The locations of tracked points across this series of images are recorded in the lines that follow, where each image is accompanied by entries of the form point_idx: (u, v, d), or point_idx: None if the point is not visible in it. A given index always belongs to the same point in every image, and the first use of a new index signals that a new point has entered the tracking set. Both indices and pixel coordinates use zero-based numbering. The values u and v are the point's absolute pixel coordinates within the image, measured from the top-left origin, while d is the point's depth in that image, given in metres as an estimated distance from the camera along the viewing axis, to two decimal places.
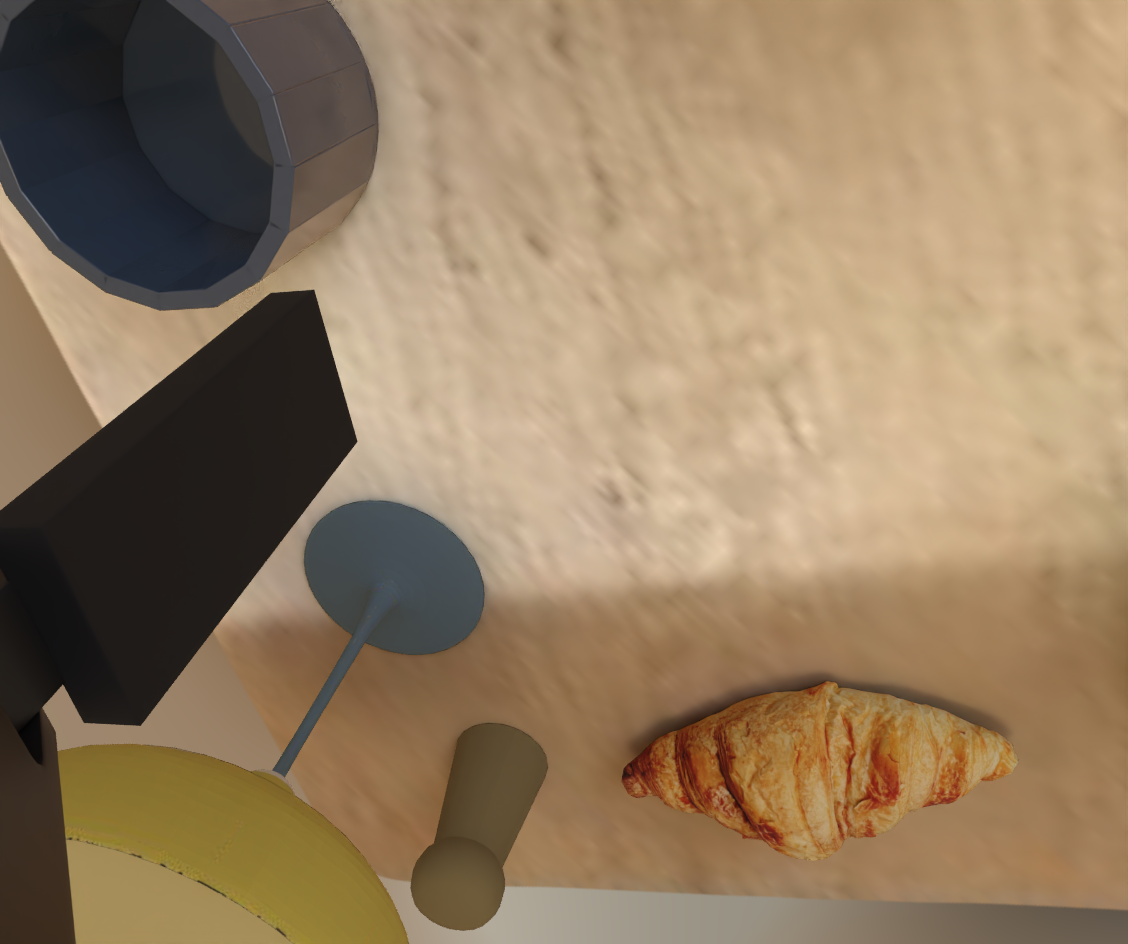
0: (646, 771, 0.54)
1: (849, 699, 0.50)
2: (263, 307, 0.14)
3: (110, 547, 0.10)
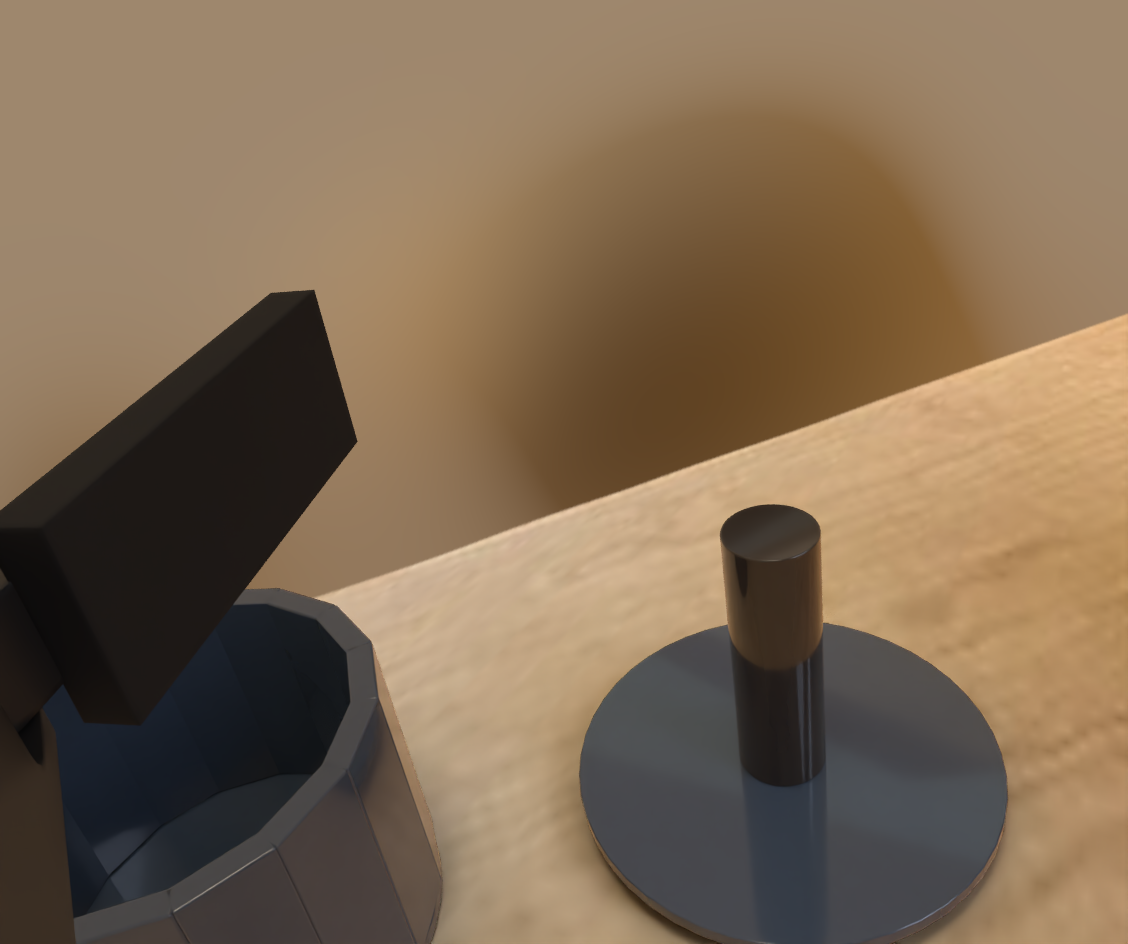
0: None
1: None
2: (263, 307, 0.14)
3: (110, 547, 0.10)
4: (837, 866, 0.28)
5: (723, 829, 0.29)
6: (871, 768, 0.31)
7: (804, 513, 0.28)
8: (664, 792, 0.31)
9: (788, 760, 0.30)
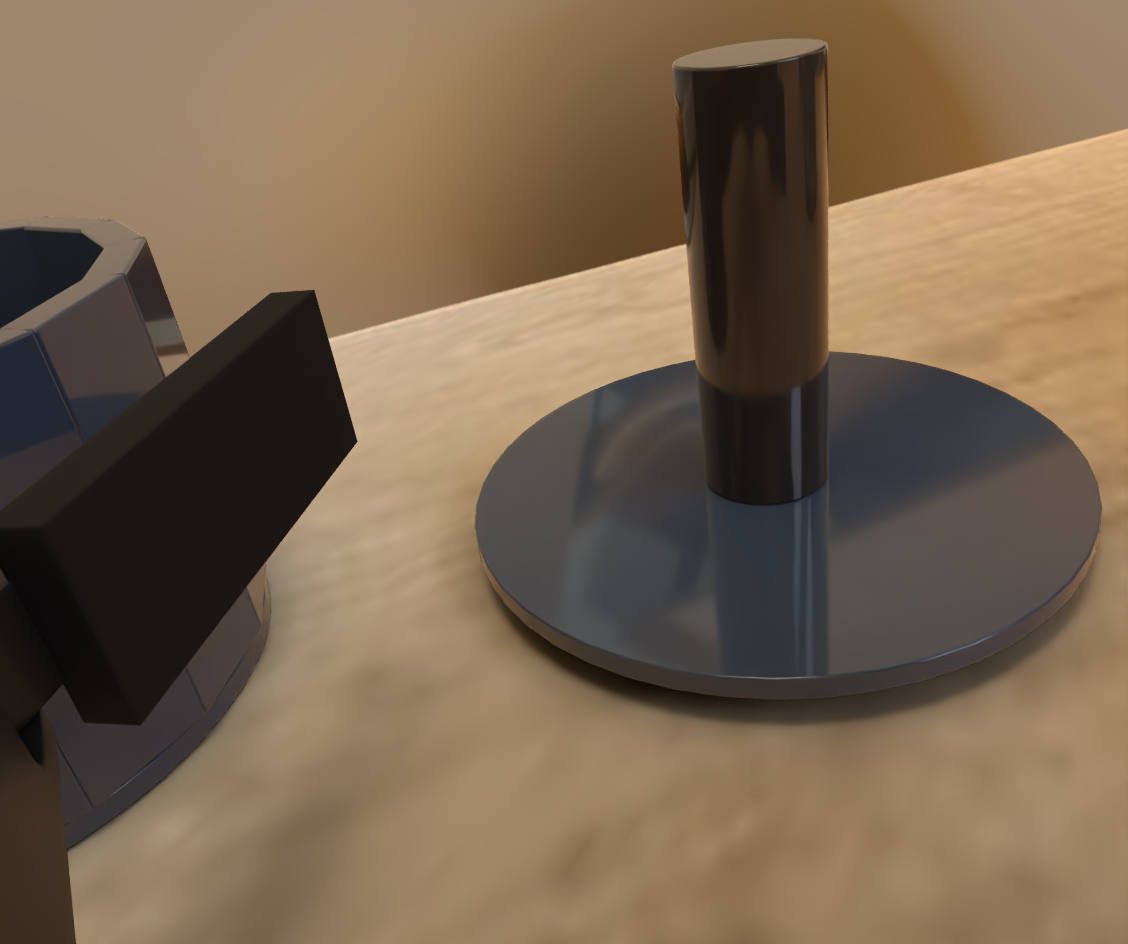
0: None
1: None
2: (263, 307, 0.14)
3: (110, 546, 0.10)
4: (843, 585, 0.18)
5: (674, 551, 0.20)
6: (895, 482, 0.21)
7: (803, 39, 0.18)
8: (593, 517, 0.21)
9: (773, 457, 0.20)
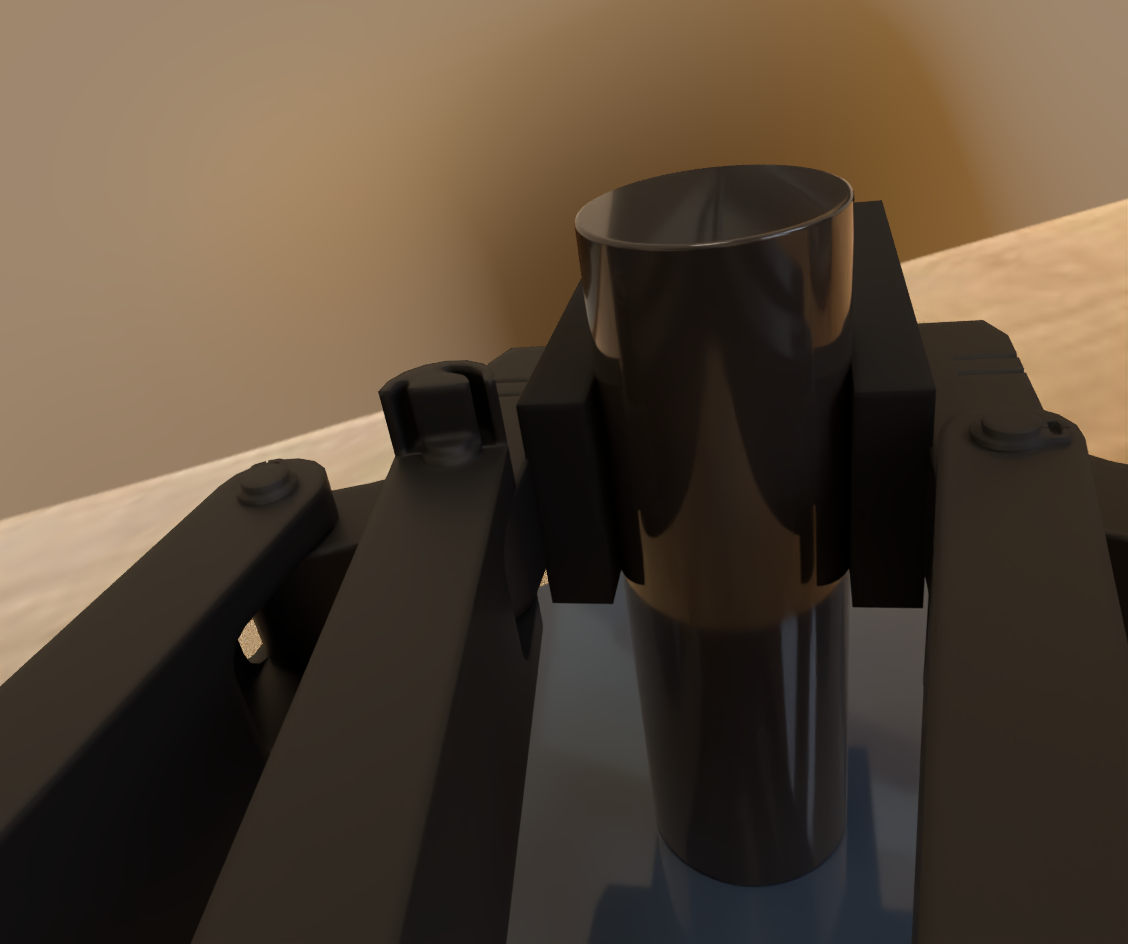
0: None
1: None
2: None
3: None
4: None
5: None
6: None
7: (809, 169, 0.10)
8: None
9: (759, 827, 0.12)
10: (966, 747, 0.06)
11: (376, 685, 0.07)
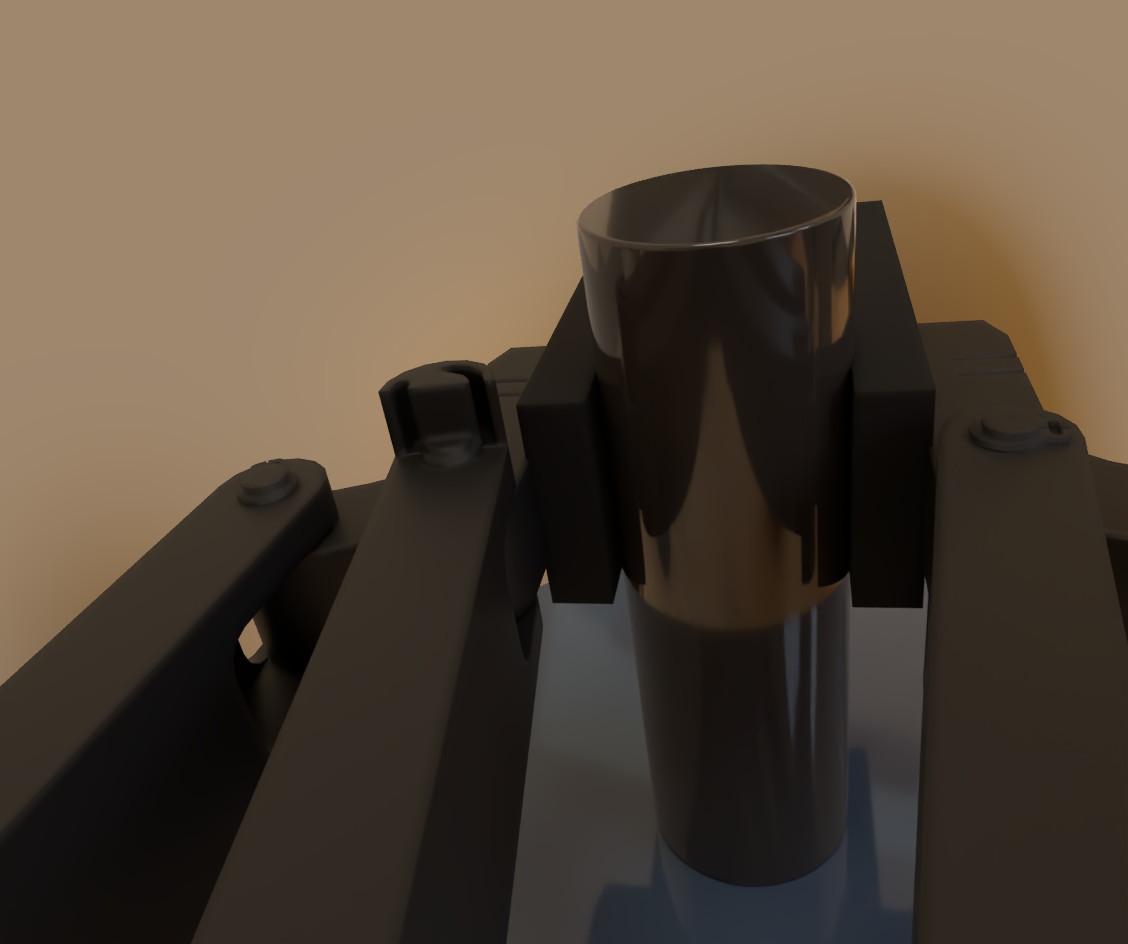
0: None
1: None
2: None
3: (603, 431, 0.11)
4: None
5: None
6: None
7: (811, 169, 0.10)
8: None
9: (759, 827, 0.12)
10: (966, 747, 0.06)
11: (376, 685, 0.07)
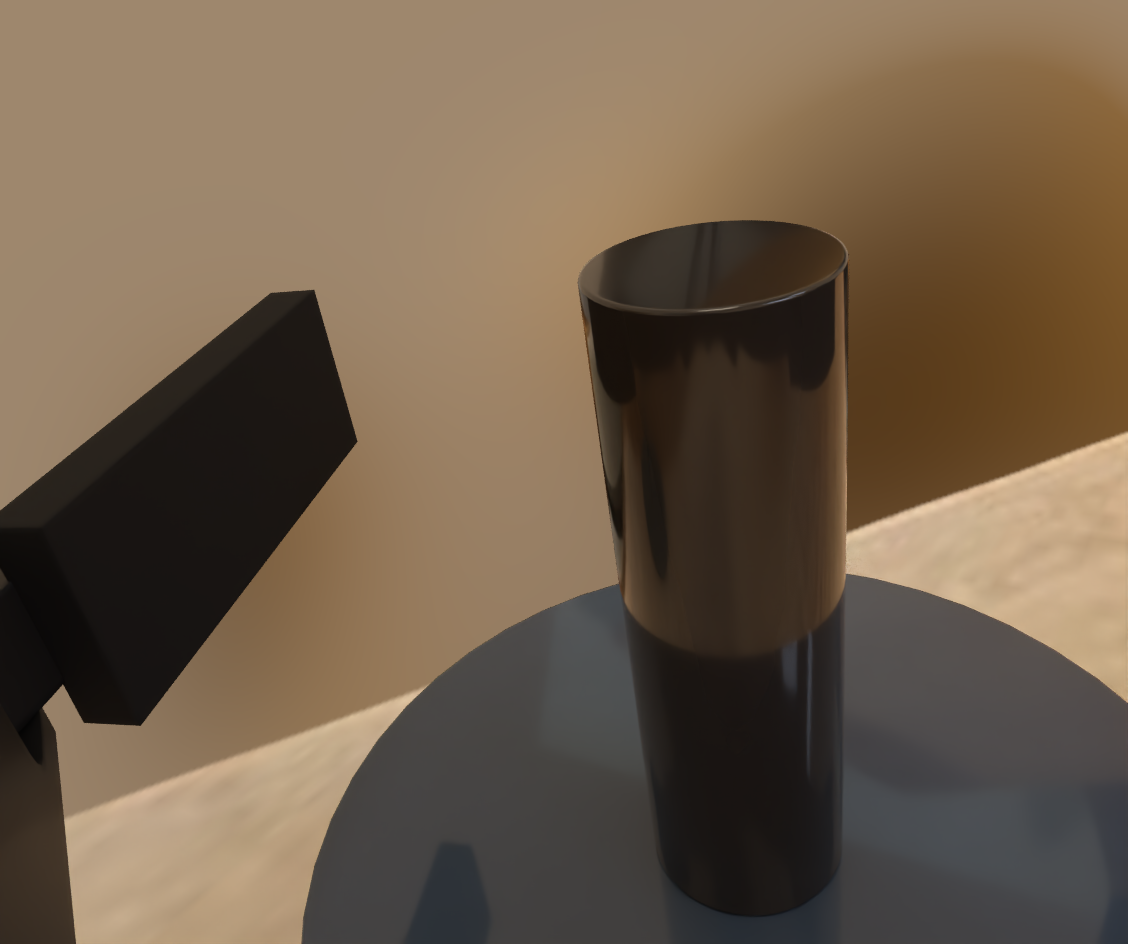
0: None
1: None
2: (263, 307, 0.14)
3: (111, 547, 0.10)
4: None
5: None
6: (947, 877, 0.13)
7: (805, 227, 0.10)
8: (480, 918, 0.14)
9: (756, 860, 0.13)
10: None
11: None
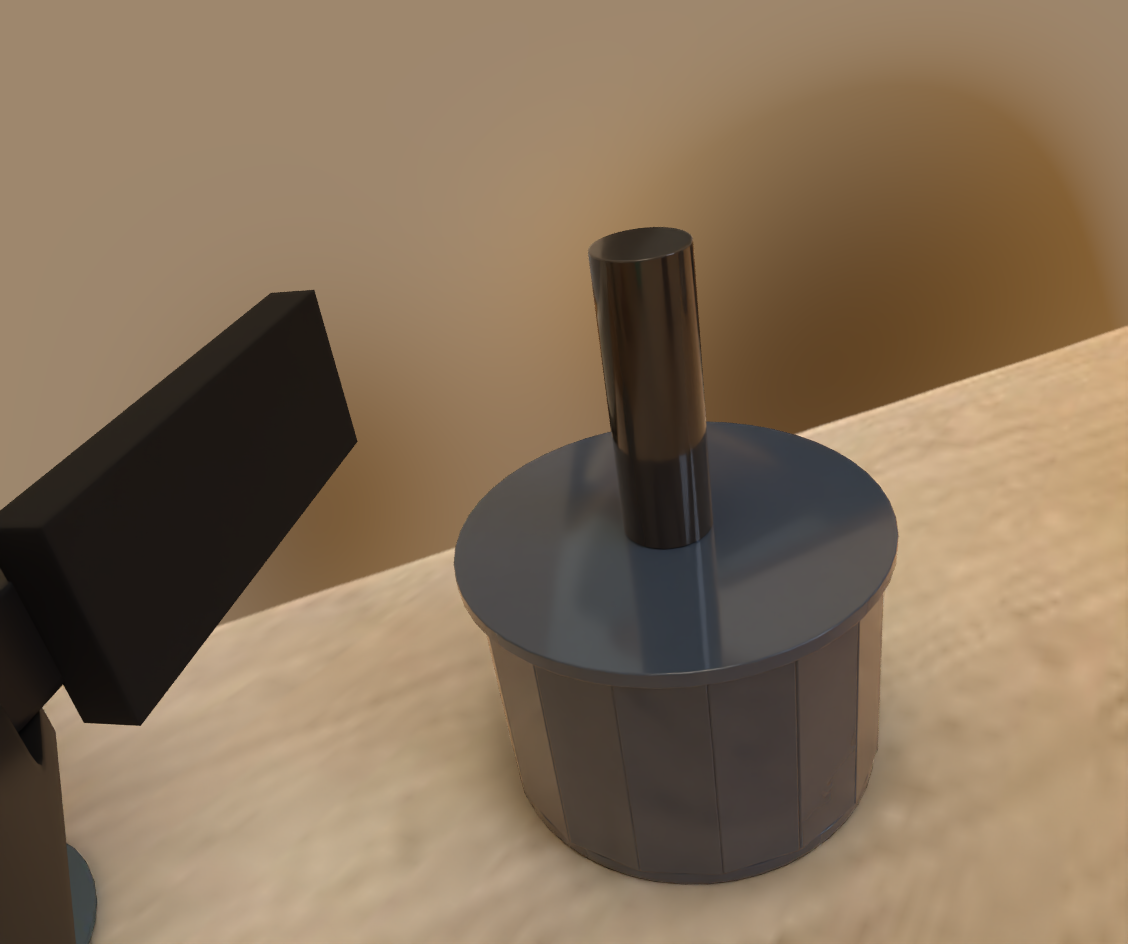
0: None
1: None
2: (263, 307, 0.14)
3: (111, 547, 0.10)
4: (709, 609, 0.26)
5: (595, 584, 0.28)
6: (758, 532, 0.29)
7: (679, 230, 0.26)
8: (540, 557, 0.29)
9: (667, 515, 0.28)
10: None
11: None
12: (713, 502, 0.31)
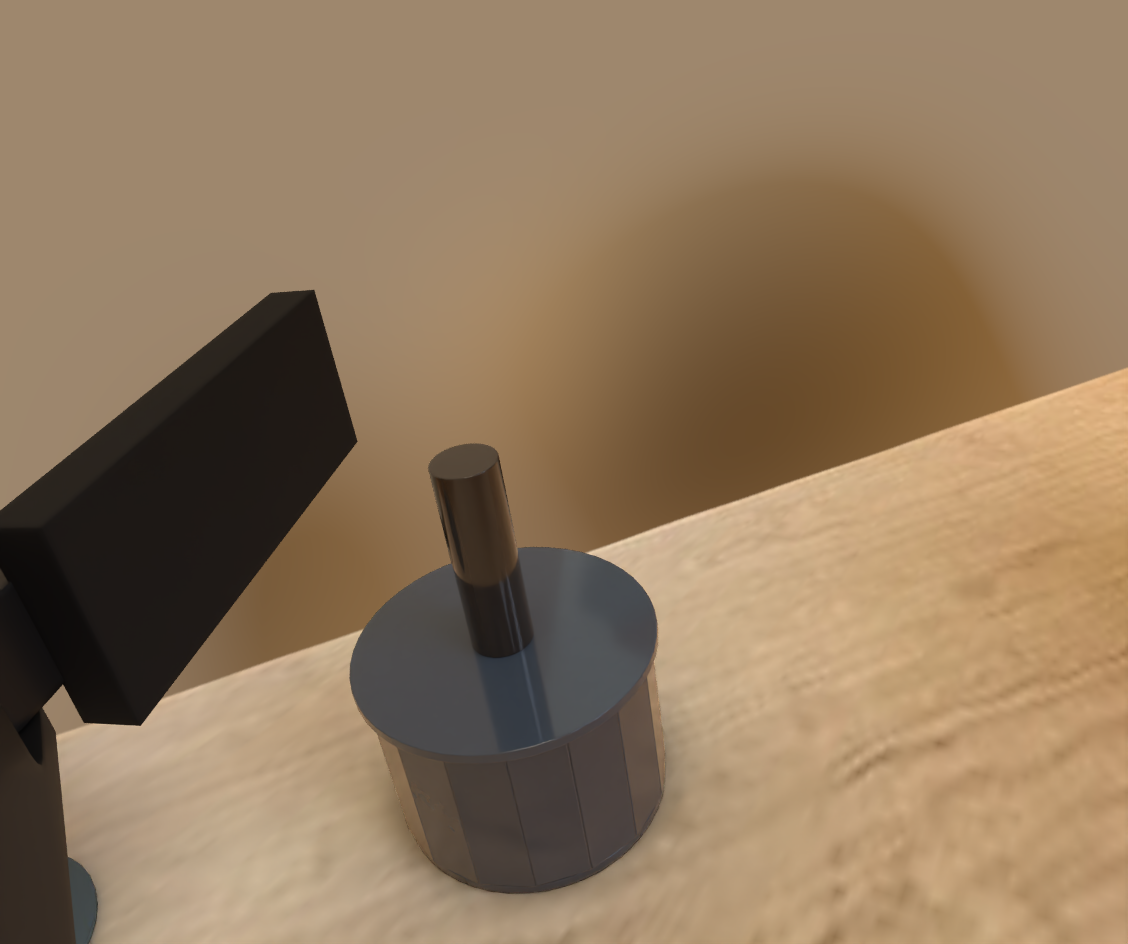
0: None
1: None
2: (263, 307, 0.14)
3: (110, 547, 0.10)
4: (513, 707, 0.38)
5: (443, 685, 0.40)
6: (561, 646, 0.41)
7: (492, 449, 0.38)
8: (409, 662, 0.41)
9: (494, 636, 0.40)
10: None
11: None
12: (537, 619, 0.43)
